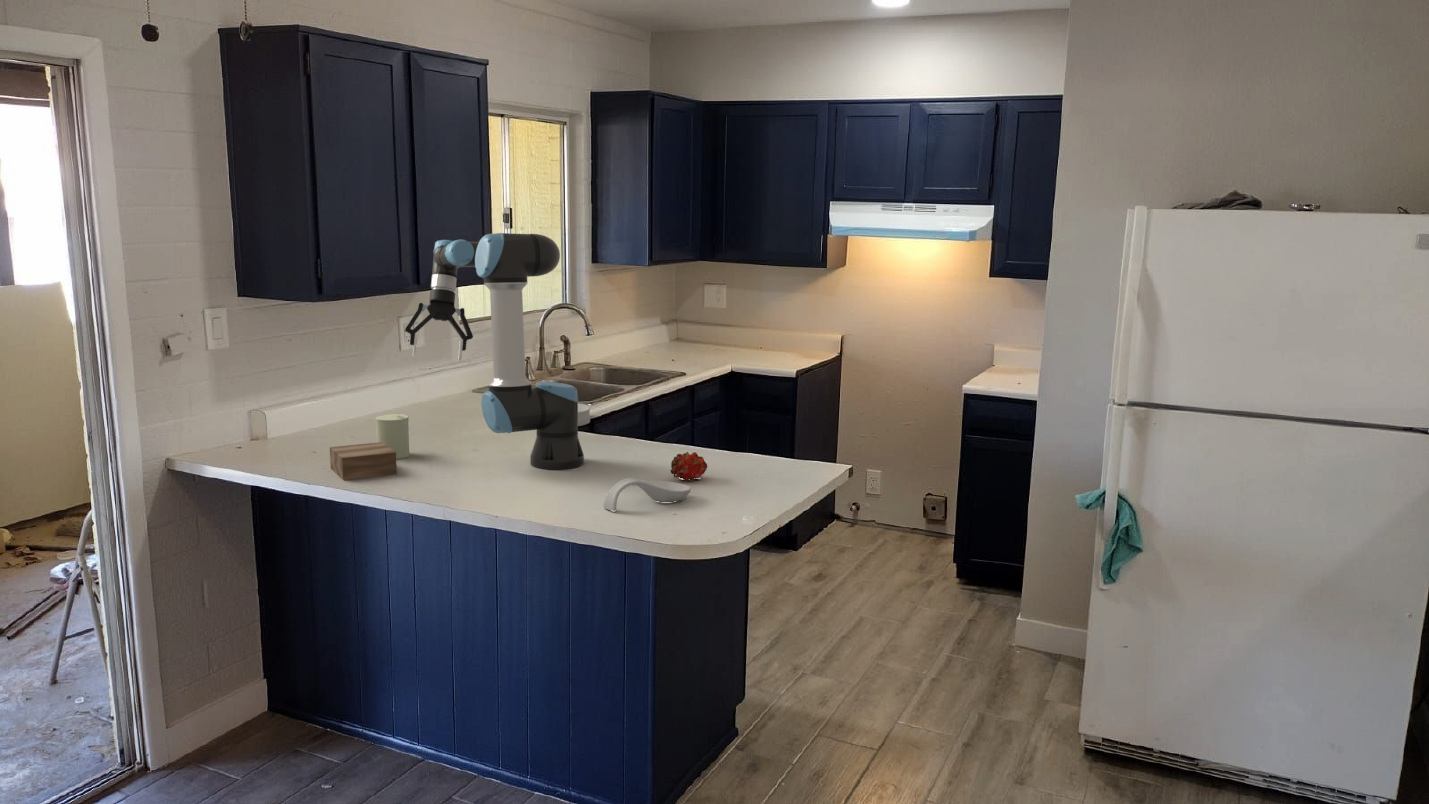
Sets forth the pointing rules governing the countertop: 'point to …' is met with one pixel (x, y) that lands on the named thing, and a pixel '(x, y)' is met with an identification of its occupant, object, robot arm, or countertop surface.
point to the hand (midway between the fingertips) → (436, 358)
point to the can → (394, 433)
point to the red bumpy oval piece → (688, 466)
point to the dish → (583, 414)
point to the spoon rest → (648, 491)
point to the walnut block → (363, 460)
